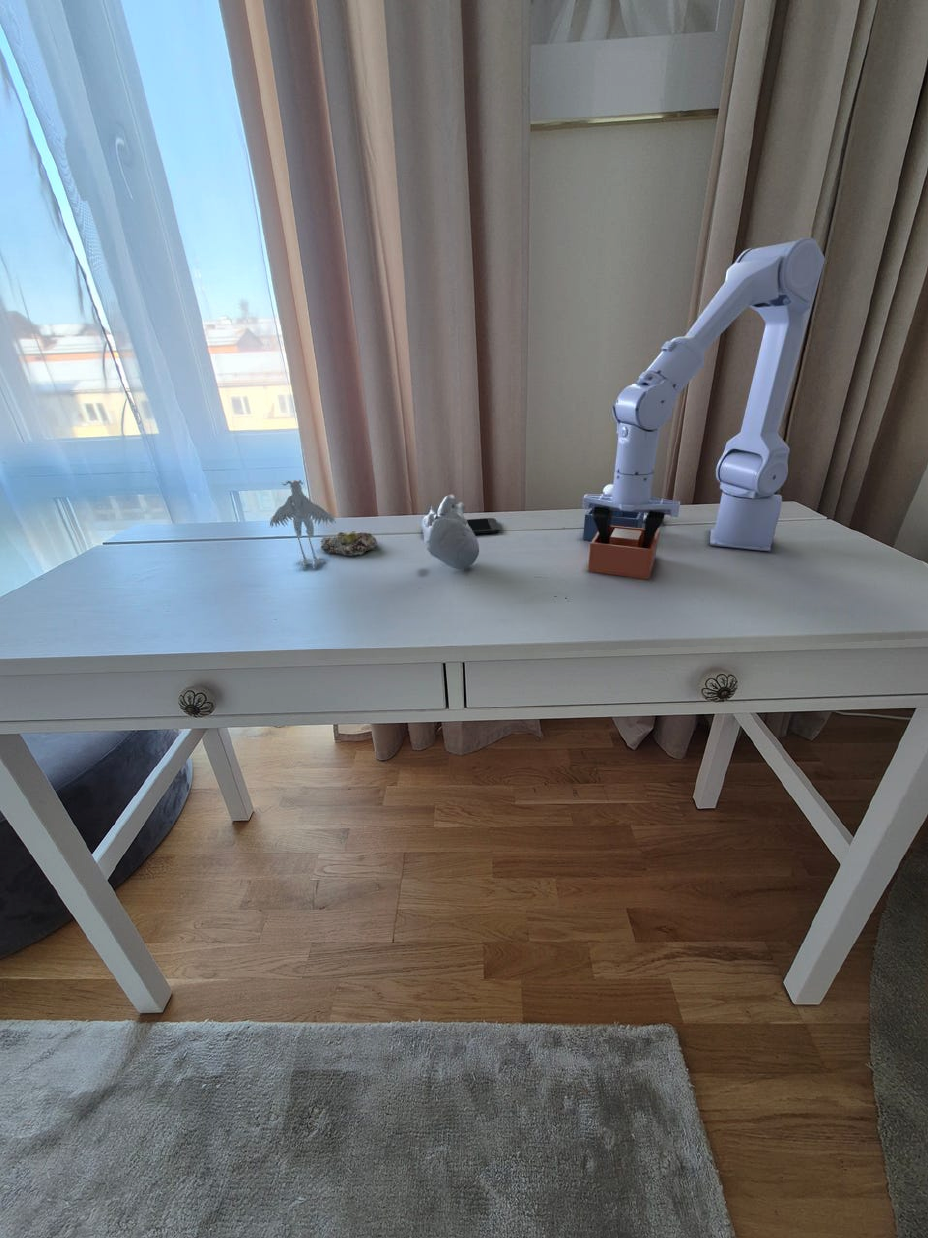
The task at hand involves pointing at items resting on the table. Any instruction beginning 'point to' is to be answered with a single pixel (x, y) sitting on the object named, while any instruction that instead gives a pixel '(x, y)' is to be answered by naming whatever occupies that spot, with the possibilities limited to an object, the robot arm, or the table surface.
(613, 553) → the terracotta bin
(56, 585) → the table surface
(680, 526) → the table surface
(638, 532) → the block
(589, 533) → the slate bin
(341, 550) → the mineral rock
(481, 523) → the smartphone
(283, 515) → the figurine
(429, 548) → the heart
